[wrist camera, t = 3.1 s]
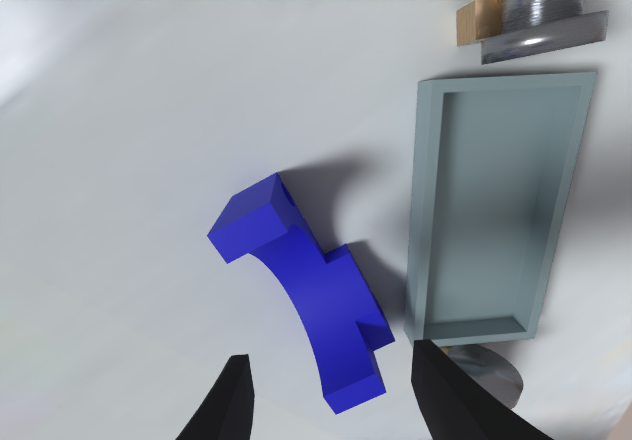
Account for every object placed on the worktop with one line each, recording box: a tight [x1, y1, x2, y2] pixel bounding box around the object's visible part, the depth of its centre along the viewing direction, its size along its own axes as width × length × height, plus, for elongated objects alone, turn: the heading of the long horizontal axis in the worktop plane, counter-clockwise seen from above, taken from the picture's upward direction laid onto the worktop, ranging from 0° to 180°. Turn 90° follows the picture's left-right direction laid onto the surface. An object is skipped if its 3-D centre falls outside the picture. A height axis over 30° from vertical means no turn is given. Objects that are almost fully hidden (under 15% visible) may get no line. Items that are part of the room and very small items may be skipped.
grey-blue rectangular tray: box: [404, 72, 597, 348], centre depth 19 cm, size 16×8×2 cm, turn 3°
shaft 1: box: [439, 344, 523, 409], centre depth 22 cm, size 5×4×5 cm
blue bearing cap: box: [207, 172, 395, 414], centre depth 18 cm, size 12×4×6 cm, turn 28°
